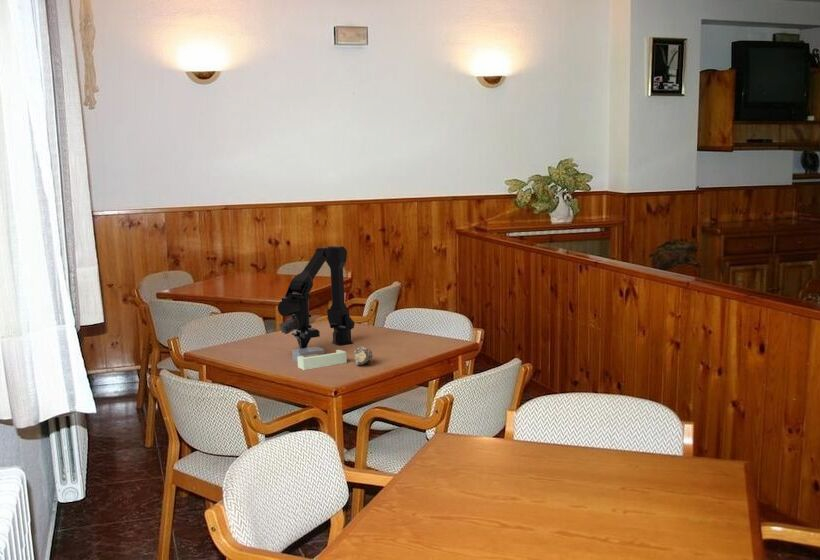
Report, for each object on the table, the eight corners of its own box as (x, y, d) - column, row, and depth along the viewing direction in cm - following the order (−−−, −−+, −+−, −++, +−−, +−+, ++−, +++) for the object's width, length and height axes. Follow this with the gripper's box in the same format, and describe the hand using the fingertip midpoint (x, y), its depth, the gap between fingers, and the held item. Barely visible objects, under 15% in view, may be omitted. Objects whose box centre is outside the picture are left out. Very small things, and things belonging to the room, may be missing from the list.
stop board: (340, 360, 310) (339, 349, 309) (346, 362, 305) (346, 352, 305) (297, 367, 300) (297, 356, 300) (303, 370, 296) (303, 359, 296)
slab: (316, 356, 318) (316, 346, 318) (324, 359, 312) (324, 349, 312) (292, 360, 313) (292, 349, 312) (300, 363, 307) (299, 353, 306)
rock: (362, 352, 295) (380, 343, 303) (339, 348, 302) (357, 339, 310) (365, 371, 297) (383, 361, 304) (341, 366, 304) (360, 357, 311)
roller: (324, 360, 310) (324, 351, 309) (328, 363, 307) (328, 354, 306) (304, 363, 306) (304, 354, 305) (308, 366, 303) (308, 357, 302)
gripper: (271, 310, 317) (273, 350, 320) (291, 318, 302) (293, 360, 304) (298, 307, 323) (299, 346, 326) (319, 314, 308) (321, 356, 310)
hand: (302, 352), depth 316 cm, fingers closed
